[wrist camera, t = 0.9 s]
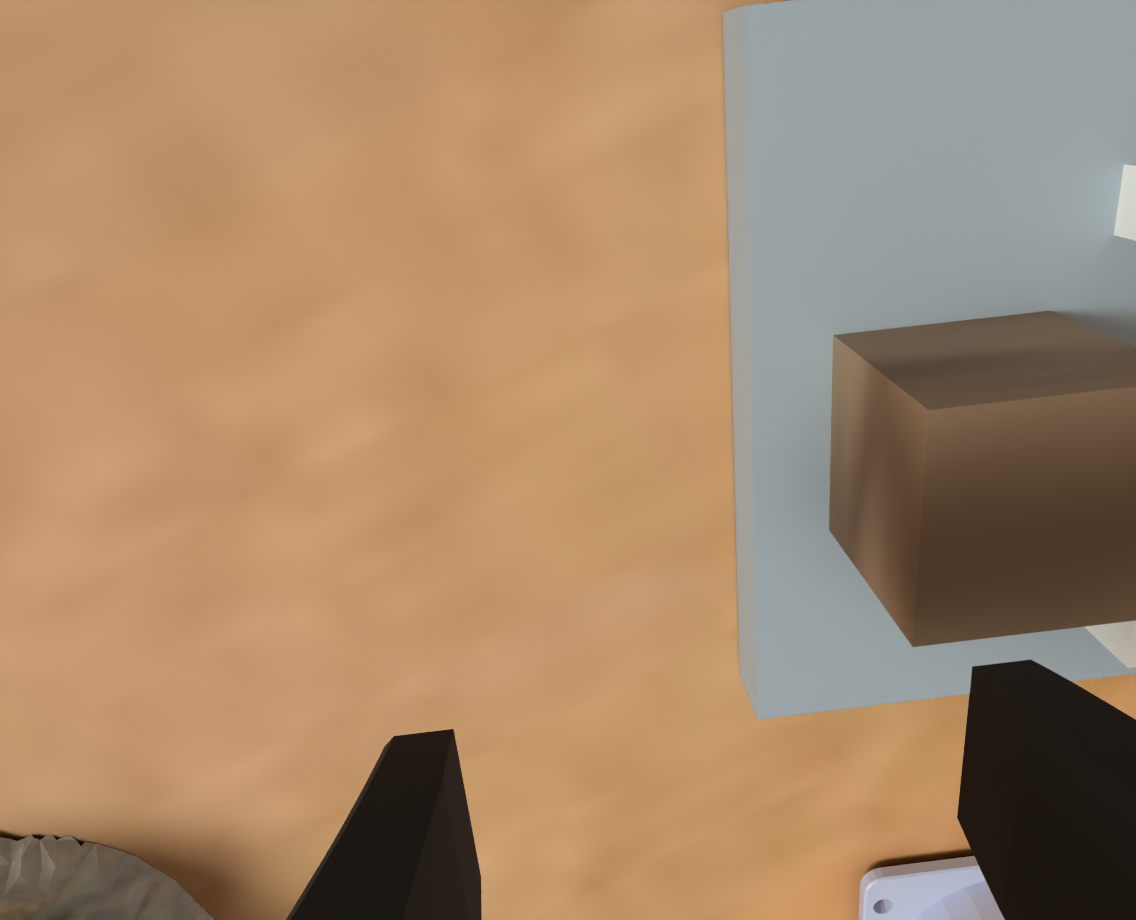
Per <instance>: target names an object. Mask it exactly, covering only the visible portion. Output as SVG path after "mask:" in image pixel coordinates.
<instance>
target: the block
mask: <svg viewBox="0 0 1136 920" xmlns="http://www.w3.org/2000/svg"><path fill="white" fill-rule="evenodd" d="M829 531H830V532H831V533H832V535H833V536H834V538H835V539H836V540H837V542H838V543H839V545H840V546H841V547H842V549H843V550H844V552H845V553H846V554H847V556H848V557H849V559H850V560H851V561H852V563H853V564H854V566H855V567H856V568H857V570H858V571H859V573H860V574H861V575H862V577H863V578H864V580H865V581H866V582H867V584H868V585H869V587H870V588H871V589H872V591H873V592H874V594H875V595H876V596H877V598H878V599H879V601H880V602H881V603H882V605H883V606H884V608H885V609H886V610H887V612H888V613H889V615H890V616H891V617H892V619H893V620H894V622H895V623H896V624H897V626H898V627H899V629H900V630H901V631H902V633H903V634H904V636H905V637H906V638H907V640H908V641H909V643H910V644H911V645H912V647H919V646H927V645H936V644H944V643H952V642H961V641H969V640H977V639H986V638H994V637H1002V636H1011V635H1019V634H1027V633H1036V632H1044V631H1052V630H1061V629H1069V628H1077V627H1086V626H1094V625H1102V624H1111V623H1119V622H1127V621H1136V347H1134V346H1132V345H1129V344H1127V343H1125V342H1122V341H1120V340H1118V339H1115V338H1113V337H1111V336H1108V335H1106V334H1104V333H1101V332H1099V331H1097V330H1094V329H1092V328H1089V327H1087V326H1085V325H1082V324H1080V323H1078V322H1075V321H1073V320H1071V319H1068V318H1066V317H1064V316H1061V315H1059V314H1057V313H1054V312H1052V311H1042V312H1033V313H1024V314H1016V315H1007V316H998V317H989V318H980V319H971V320H962V321H954V322H945V323H936V324H927V325H918V326H909V327H900V328H892V329H883V330H874V331H865V332H856V333H847V334H838V335H833V360H832V408H831V456H830V504H829Z"/></svg>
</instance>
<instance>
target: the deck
mask: <svg viewBox="0 0 1136 920" xmlns="http://www.w3.org/2000/svg"><path fill="white" fill-rule="evenodd" d="M723 41H724V80H725V118H726V157H727V196H728V235H729V274H730V313H731V351H732V390H733V429H734V468H735V507H736V545H737V584H738V623H739V662H740V676H741V679H742V682H743V684H744V687H745V689H746V692H747V694H748V697H749V699H750V702H751V705H752V707H753V710H754V712H755V715H756V717H757V720H758V719H766V718H774V717H783V716H791V715H799V714H807V713H816V712H824V711H832V710H840V709H849V708H857V707H865V706H873V705H882V704H890V703H898V702H906V701H915V700H923V699H931V698H939V697H948V696H956V695H964V694H970V685H971V675H972V666H981V665H989V664H997V663H1006V662H1014V661H1022V660H1030V659H1031V660H1033V661H1035V662H1037V663H1038V664H1040V665H1042V666H1044V667H1046V668H1048V669H1050V670H1052V671H1053V672H1055V673H1057V674H1059V675H1060V676H1062V677H1064V678H1066V679H1067V680H1069V681H1080V680H1088V679H1096V678H1104V677H1113V676H1121V675H1129V674H1136V621H1127V622H1119V623H1111V624H1102V625H1094V626H1086V627H1077V628H1069V629H1061V630H1052V631H1044V632H1036V633H1027V634H1019V635H1011V636H1002V637H994V638H986V639H977V640H969V641H961V642H952V643H944V644H936V645H927V646H919V647H912V645H911V644H910V643H909V641H908V640H907V638H906V637H905V636H904V634H903V633H902V631H901V630H900V629H899V627H898V626H897V624H896V623H895V622H894V620H893V619H892V617H891V616H890V615H889V613H888V612H887V610H886V609H885V608H884V606H883V605H882V603H881V602H880V601H879V599H878V598H877V596H876V595H875V594H874V592H873V591H872V589H871V588H870V587H869V585H868V584H867V582H866V581H865V580H864V578H863V577H862V575H861V574H860V573H859V571H858V570H857V568H856V567H855V566H854V564H853V563H852V561H851V560H850V559H849V557H848V556H847V554H846V553H845V552H844V550H843V549H842V547H841V546H840V545H839V543H838V542H837V540H836V539H835V538H834V536H833V535H832V533H831V532H830V531H829V504H830V456H831V408H832V360H833V335H838V334H847V333H856V332H865V331H874V330H883V329H892V328H900V327H909V326H918V325H927V324H936V323H945V322H954V321H962V320H971V319H980V318H989V317H998V316H1007V315H1016V314H1024V313H1033V312H1042V311H1052V312H1054V313H1057V314H1059V315H1061V316H1064V317H1066V318H1068V319H1071V320H1073V321H1075V322H1078V323H1080V324H1082V325H1085V326H1087V327H1089V328H1092V329H1094V330H1097V331H1099V332H1101V333H1104V334H1106V335H1108V336H1111V337H1113V338H1115V339H1118V340H1120V341H1122V342H1125V343H1127V344H1129V345H1132V346H1134V347H1136V0H793V1H783V2H774V3H764V4H755V5H745V6H742V7H739V8H735V9H732V10H729V11H726V12H723Z"/></svg>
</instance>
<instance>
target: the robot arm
mask: <svg viewBox="0 0 1136 920" xmlns="http://www.w3.org/2000/svg"><path fill="white" fill-rule="evenodd" d="M957 818H958V820H959V822H960V825H961V827H962V829H963V831H964V834H965V836H966V838H967V840H968V843H969V845H970V847H971V849H972V852H973V854H974V856H968V857H960V858H952V859H944V860H936V861H928V862H920V863H912V864H904V865H896V866H888V867H880V868H876V869H872V870H871V871H869V872H867V873H866V874H865V875H864V877H863V878H862V880H861V883H860V899H859V920H1136V720H1135V719H1133V718H1132V717H1130V716H1128V715H1127V714H1125V713H1123V712H1122V711H1120V710H1118V709H1117V708H1115V707H1113V706H1112V705H1110V704H1108V703H1107V702H1105V701H1103V700H1101V699H1100V698H1098V697H1096V696H1095V695H1093V694H1091V693H1090V692H1088V691H1086V690H1085V689H1083V688H1081V687H1079V686H1078V685H1076V684H1074V683H1073V682H1071V681H1069V680H1067V679H1066V678H1064V677H1062V676H1060V675H1059V674H1057V673H1055V672H1053V671H1052V670H1050V669H1048V668H1046V667H1044V666H1042V665H1040V664H1038V663H1037V662H1035V661H1033V660H1031V659H1030V660H1022V661H1014V662H1006V663H997V664H989V665H981V666H972V675H971V685H970V695H969V705H968V715H967V725H966V736H965V746H964V756H963V766H962V776H961V786H960V796H959V806H958V816H957ZM286 920H481V875H480V870H479V864H478V859H477V853H476V848H475V843H474V837H473V832H472V827H471V821H470V816H469V811H468V805H467V800H466V794H465V789H464V784H463V778H462V773H461V768H460V762H459V757H458V751H457V746H456V741H455V735H454V730H453V729H450V730H442V731H434V732H425V733H417V734H409V735H400V736H394V737H393V738H392V739H391V740H390V741H389V742H388V744H387V745H386V746H385V747H384V749H383V751H382V753H381V755H380V757H379V759H378V761H377V763H376V765H375V767H374V769H373V771H372V773H371V774H370V776H369V778H368V780H367V782H366V784H365V786H364V788H363V790H362V792H361V793H360V795H359V797H358V799H357V801H356V803H355V804H354V806H353V808H352V810H351V812H350V813H349V815H348V817H347V819H346V821H345V822H344V824H343V826H342V828H341V829H340V831H339V833H338V835H337V836H336V838H335V840H334V842H333V843H332V845H331V847H330V849H329V850H328V852H327V854H326V855H325V857H324V859H323V860H322V862H321V863H320V865H319V867H318V868H317V870H316V872H315V873H314V875H313V877H312V878H311V880H310V882H309V883H308V885H307V886H306V888H305V890H304V891H303V893H302V895H301V896H300V898H299V900H298V901H297V903H296V905H295V906H294V908H293V909H292V911H291V913H290V914H289V916H288V918H287V919H286Z"/></svg>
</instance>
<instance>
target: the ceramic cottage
mask: <svg viewBox="0 0 1136 920" xmlns="http://www.w3.org/2000/svg"><path fill="white" fill-rule="evenodd" d="M0 920H215V918H213V917H212V916H210V915H209V914H208V911H207V910H205V909H204V908H203V907H202V906H200V905H199V904H198V903H197V902H195V900H194V899H193V898H192V897H191V896H190V895H189V894H188V893H187V892H186V891H185V890H184V889H183V888H182V887H181V886H180V885H179V884H178V883H177V882H176V881H175V879H173V878H171V877H169V876H168V875H166V874H164V873H163V872H161V871H159V870H157V869H156V868H154V867H152V866H151V865H149V864H147V863H146V862H144V861H143V860H141V859H140V858H138V857H137V856H135V855H131V854H128V853H126V852H123V851H121V850H118V849H114V848H111V847H107V846H104V845H101V844H99V843H96V844H94V843H90V842H84V843H83V845H82V846H80V844H79V843H78V842H77V840H75V839H74V838H73V837H71V836H70V835H69V836H64V837H61V838H60V839H58V840H56V839H55V838H54V836H53V835H49V834H48V835H47V836H45V837H44V838H42V839H41V840H39V839H36V838H33V836H32V835H28V836H27V837H26V838H24V839H21V840H19V841H15V840H12V839H8V838H2V837H0Z"/></svg>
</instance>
